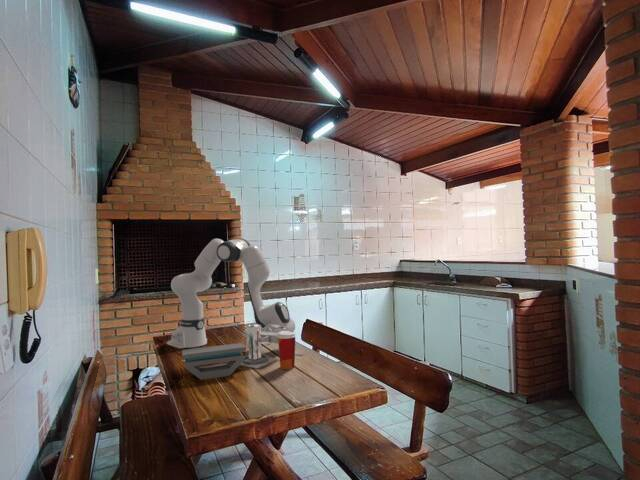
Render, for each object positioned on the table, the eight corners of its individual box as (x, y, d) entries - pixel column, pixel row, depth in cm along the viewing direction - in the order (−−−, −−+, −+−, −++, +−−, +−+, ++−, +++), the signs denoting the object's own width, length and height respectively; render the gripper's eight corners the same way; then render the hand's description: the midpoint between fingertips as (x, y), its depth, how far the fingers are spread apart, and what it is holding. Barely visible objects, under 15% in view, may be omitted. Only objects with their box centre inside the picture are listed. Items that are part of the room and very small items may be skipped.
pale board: (233, 364, 172) (233, 362, 172) (253, 355, 184) (253, 354, 184) (257, 368, 165) (257, 367, 165) (276, 359, 177) (276, 358, 177)
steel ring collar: (235, 362, 172) (235, 359, 172) (253, 355, 183) (253, 352, 183) (256, 366, 166) (256, 363, 166) (273, 358, 177) (273, 356, 177)
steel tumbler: (259, 360, 171) (258, 327, 171) (244, 360, 172) (244, 327, 172) (264, 356, 178) (263, 324, 178) (250, 355, 179) (249, 323, 179)
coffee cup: (288, 363, 171) (287, 329, 172) (300, 367, 166) (299, 332, 166) (273, 367, 166) (273, 333, 166) (285, 372, 160) (285, 336, 160)
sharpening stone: (182, 382, 150) (182, 354, 150) (182, 376, 158) (181, 349, 158) (246, 373, 160) (245, 347, 160) (242, 367, 167) (242, 342, 167)
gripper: (255, 324, 191) (236, 330, 179) (288, 328, 181) (270, 335, 169) (255, 337, 191) (236, 343, 179) (288, 341, 181) (270, 349, 169)
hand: (253, 339), depth 174 cm, fingers closed on steel tumbler, 6 cm apart
